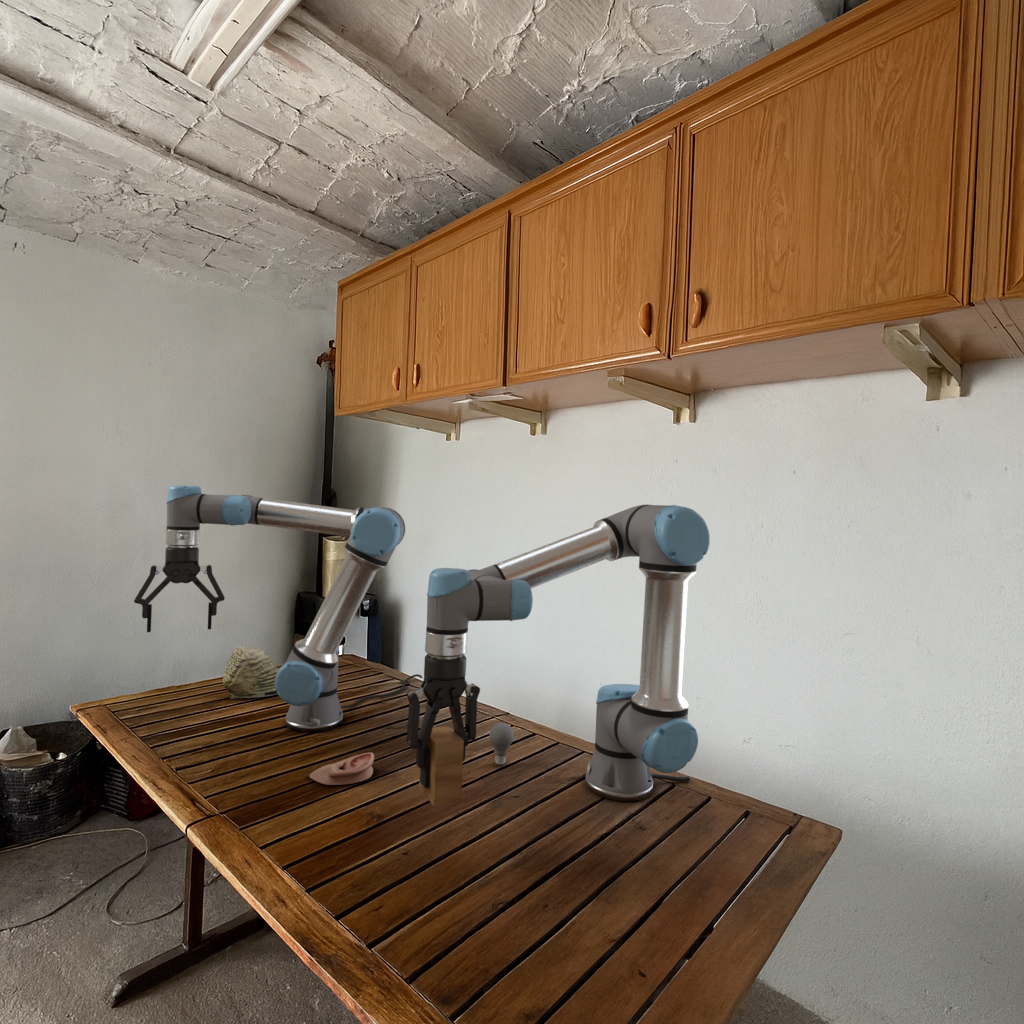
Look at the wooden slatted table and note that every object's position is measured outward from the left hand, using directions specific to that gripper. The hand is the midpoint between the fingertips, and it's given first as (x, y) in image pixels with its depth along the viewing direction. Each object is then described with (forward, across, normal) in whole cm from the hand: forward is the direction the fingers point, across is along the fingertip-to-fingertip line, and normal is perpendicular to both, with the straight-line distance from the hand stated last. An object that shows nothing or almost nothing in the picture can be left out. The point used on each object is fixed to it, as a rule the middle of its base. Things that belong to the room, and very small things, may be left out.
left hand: (179, 629), depth 161 cm
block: (+17, +44, -74) cm, 87 cm away
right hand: (+15, +44, -74) cm, 87 cm away
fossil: (+28, +21, +31) cm, 46 cm away
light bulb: (+28, +71, -44) cm, 88 cm away
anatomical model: (+28, +34, -36) cm, 57 cm away
